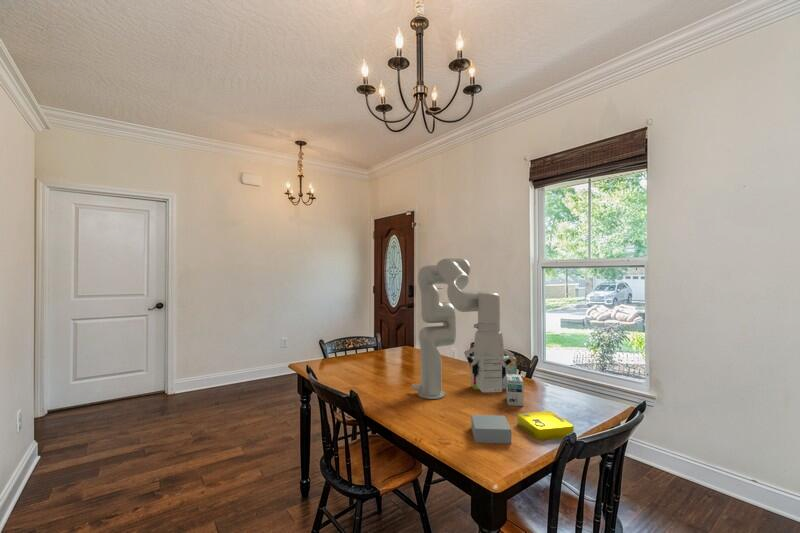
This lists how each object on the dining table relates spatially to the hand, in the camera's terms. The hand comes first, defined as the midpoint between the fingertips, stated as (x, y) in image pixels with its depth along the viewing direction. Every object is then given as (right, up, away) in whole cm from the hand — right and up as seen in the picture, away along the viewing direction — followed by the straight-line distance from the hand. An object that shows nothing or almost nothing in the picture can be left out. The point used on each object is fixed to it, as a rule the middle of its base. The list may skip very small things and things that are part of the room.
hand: (488, 376), depth 136 cm
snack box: (+14, -21, +53) cm, 59 cm away
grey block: (0, -21, 0) cm, 21 cm away
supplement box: (0, -5, 0) cm, 5 cm away
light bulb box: (+19, -21, +33) cm, 43 cm away
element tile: (+21, -21, +4) cm, 30 cm away
